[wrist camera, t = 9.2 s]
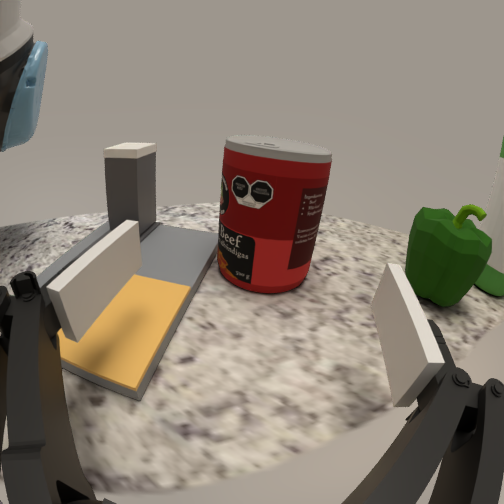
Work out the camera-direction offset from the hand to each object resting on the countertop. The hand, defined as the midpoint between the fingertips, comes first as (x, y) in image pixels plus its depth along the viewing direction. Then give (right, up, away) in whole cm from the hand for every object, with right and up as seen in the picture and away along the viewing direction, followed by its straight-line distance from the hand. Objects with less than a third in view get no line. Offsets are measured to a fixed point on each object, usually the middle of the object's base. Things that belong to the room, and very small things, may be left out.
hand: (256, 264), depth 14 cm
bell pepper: (+18, -4, +10) cm, 21 cm away
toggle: (-12, +3, +13) cm, 18 cm away
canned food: (+1, -1, +11) cm, 11 cm away
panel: (-11, -2, +7) cm, 13 cm away
